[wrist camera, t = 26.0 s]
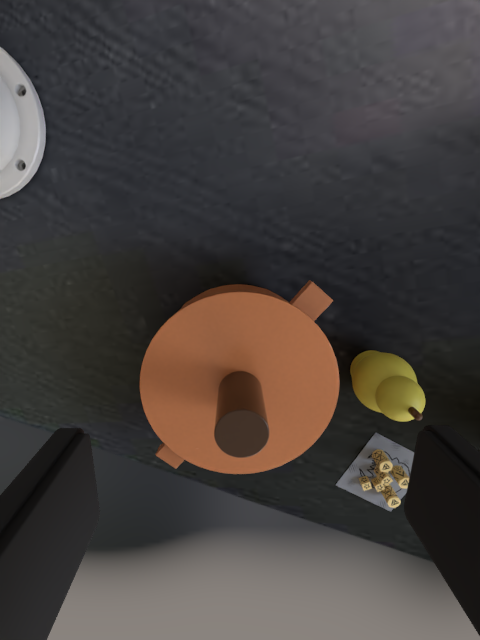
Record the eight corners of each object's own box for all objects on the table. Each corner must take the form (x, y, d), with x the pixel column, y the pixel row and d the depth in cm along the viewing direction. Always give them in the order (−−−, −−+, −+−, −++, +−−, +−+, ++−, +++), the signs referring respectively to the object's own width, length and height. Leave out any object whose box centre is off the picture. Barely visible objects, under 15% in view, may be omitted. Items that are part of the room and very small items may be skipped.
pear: (331, 371, 33) (368, 422, 24) (370, 331, 32) (424, 370, 23) (367, 402, 34) (416, 462, 25) (406, 365, 33) (472, 414, 24)
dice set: (376, 447, 35) (384, 458, 34) (412, 465, 36) (422, 477, 34) (351, 479, 37) (357, 493, 35) (386, 497, 37) (394, 510, 35)
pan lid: (104, 395, 27) (61, 448, 20) (228, 245, 24) (225, 249, 17) (249, 495, 30) (253, 571, 23) (375, 373, 27) (422, 420, 20)
